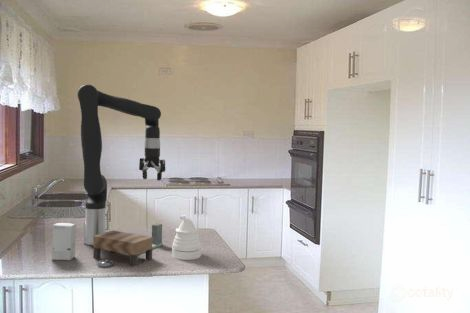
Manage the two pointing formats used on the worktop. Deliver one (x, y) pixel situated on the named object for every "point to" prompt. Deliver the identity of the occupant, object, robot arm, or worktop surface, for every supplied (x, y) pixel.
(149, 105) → the robot arm
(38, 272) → the worktop surface
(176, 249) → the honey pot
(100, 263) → the disc
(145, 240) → the walnut table
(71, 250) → the skincare box
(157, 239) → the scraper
